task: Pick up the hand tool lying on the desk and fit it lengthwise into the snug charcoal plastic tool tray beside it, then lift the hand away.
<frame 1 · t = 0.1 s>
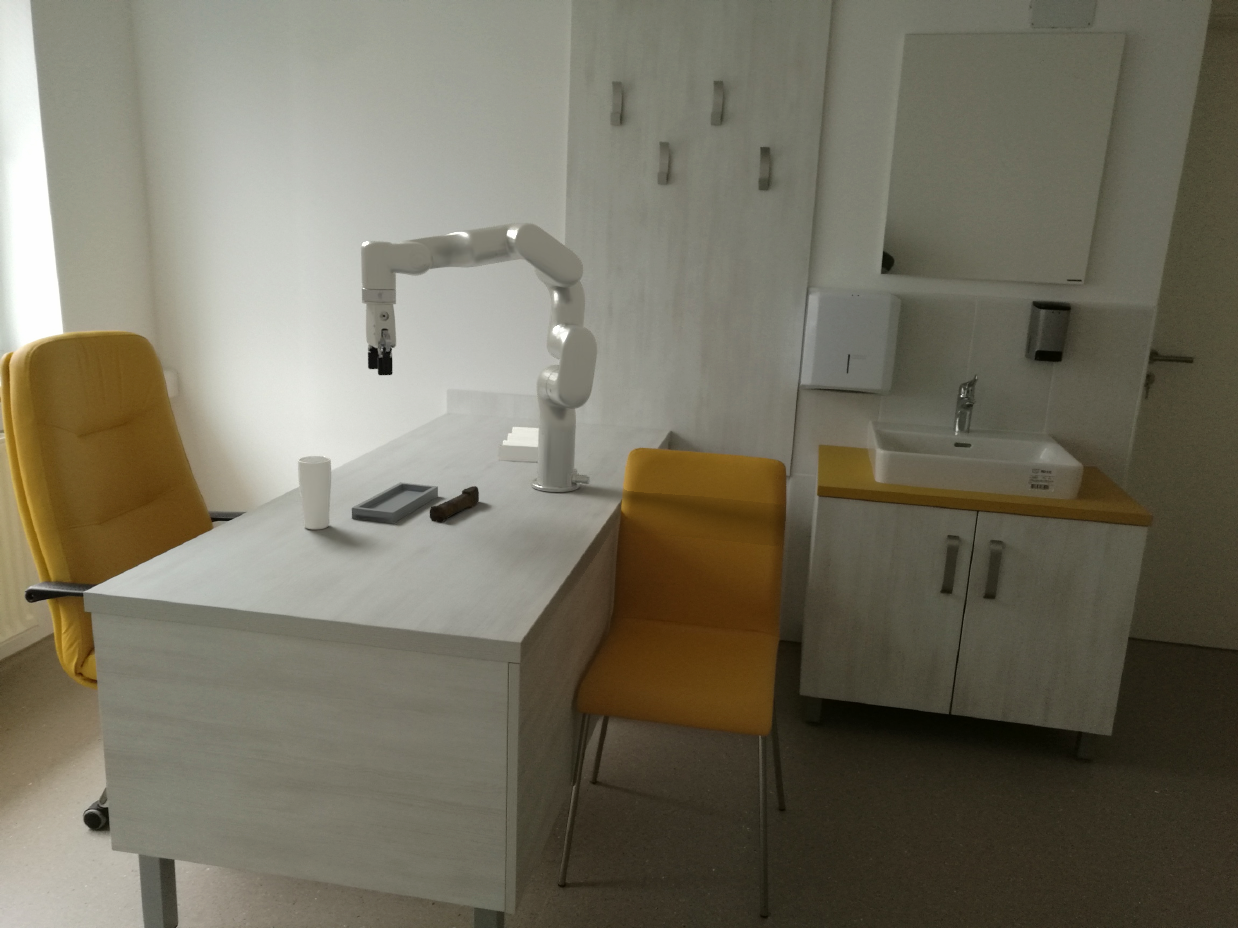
hand: (380, 371, 216), 31 cm above the table, tool pointing down, fingers open, 9 cm apart
white tumbler: (316, 527, 203), on the table
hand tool: (456, 513, 219), on the table
tool tray: (396, 506, 220), on the table
file organizer: (528, 451, 287), on the table
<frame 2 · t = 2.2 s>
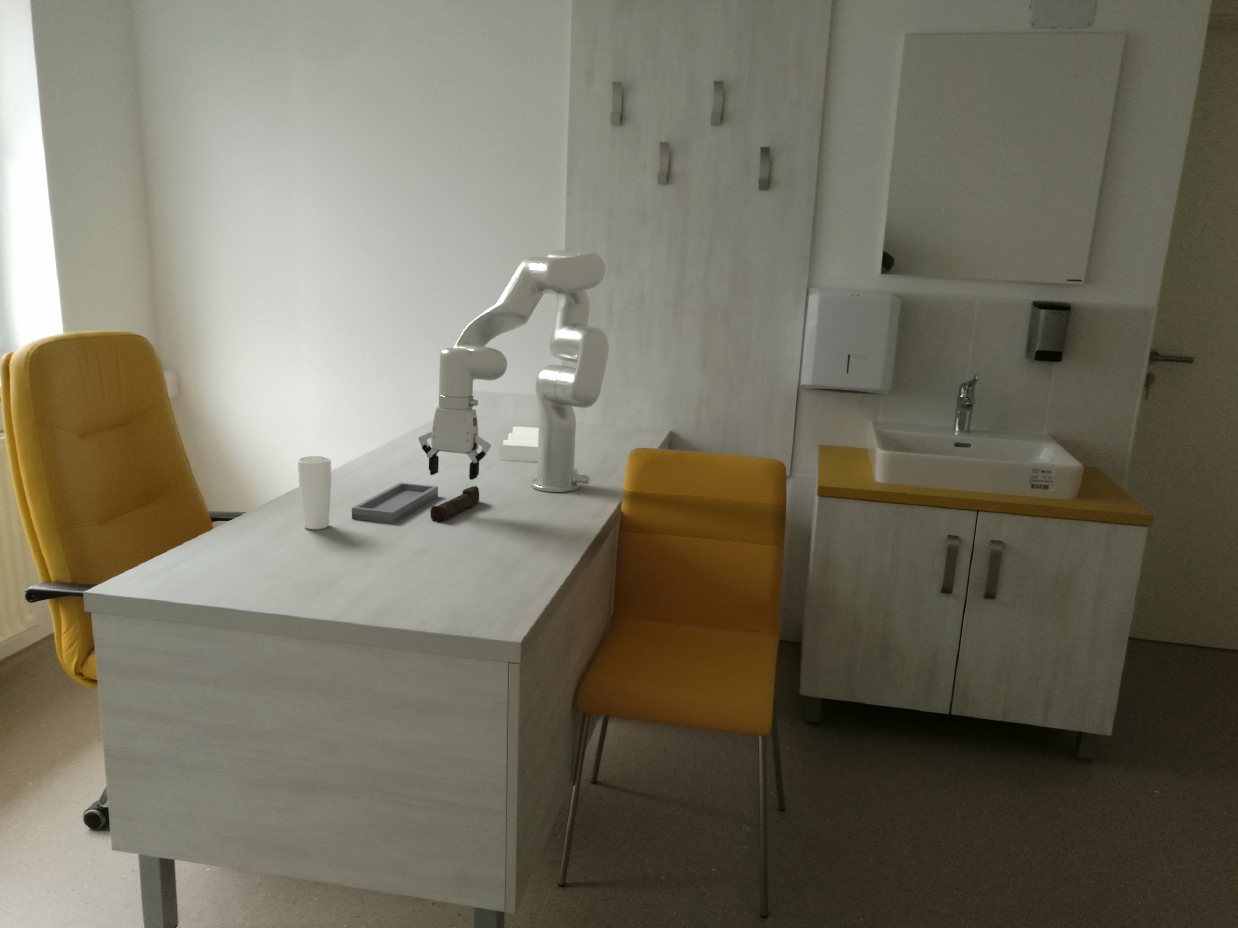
hand: (453, 476, 216), 9 cm above the table, tool pointing down, fingers open, 9 cm apart
nothing on the table moved.
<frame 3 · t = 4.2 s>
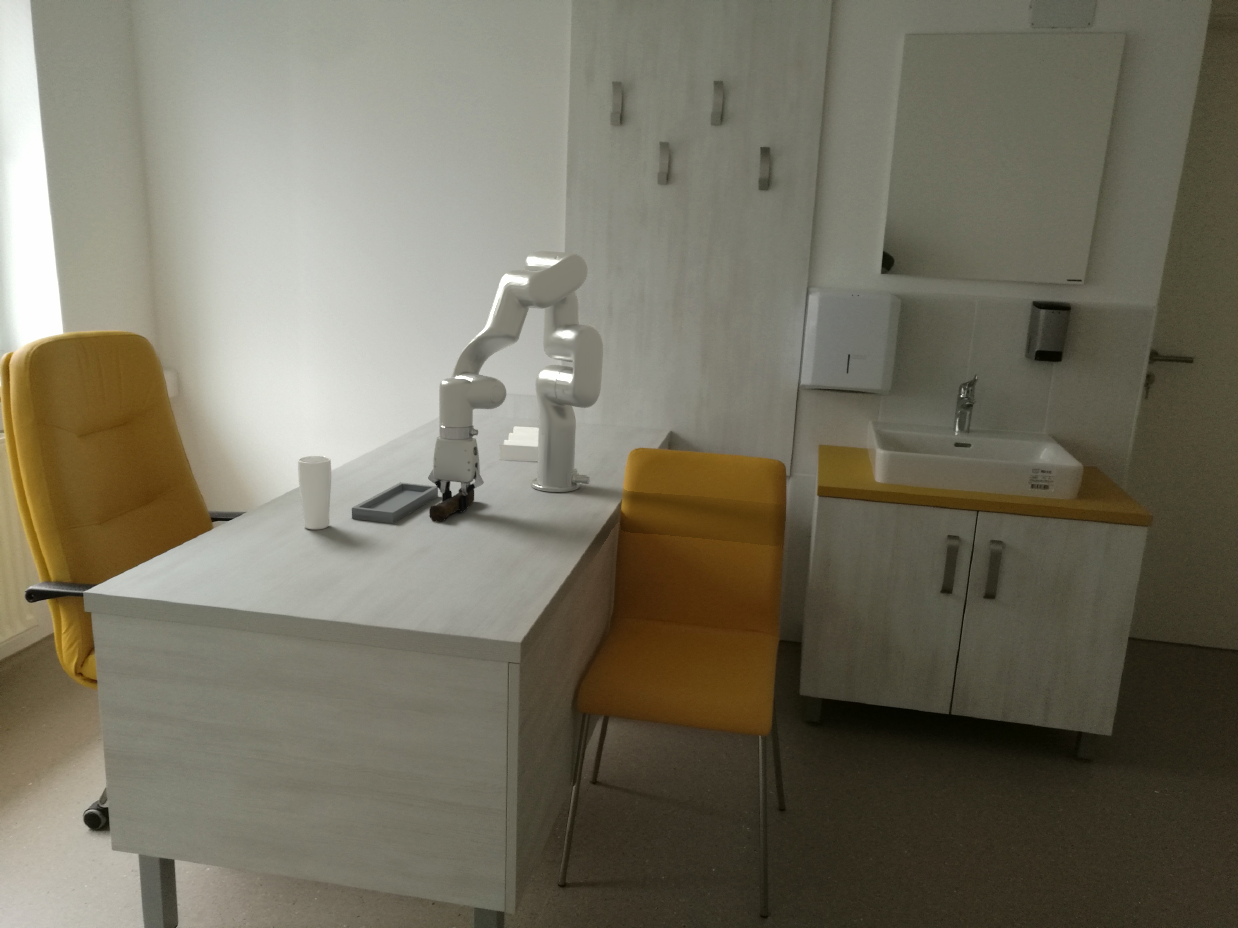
hand: (455, 508, 219), 1 cm above the table, tool pointing down, fingers closed on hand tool, 3 cm apart
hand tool: (453, 511, 219), on the table, touching gripper
everything else where it was.
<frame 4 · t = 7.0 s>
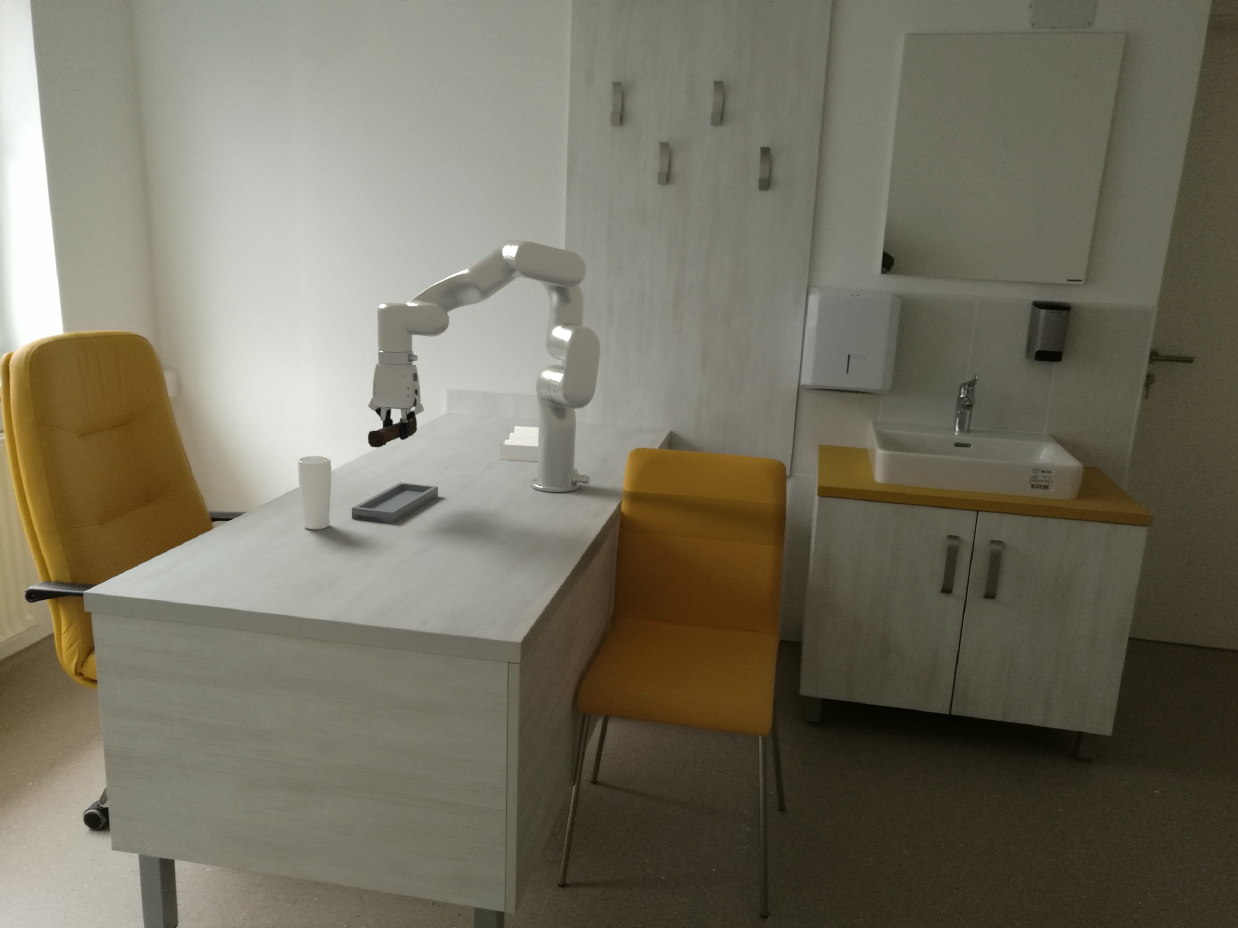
hand: (396, 437, 216), 17 cm above the table, tool pointing down, fingers closed on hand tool, 3 cm apart
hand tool: (394, 440, 216), point 16 cm above the table, touching gripper
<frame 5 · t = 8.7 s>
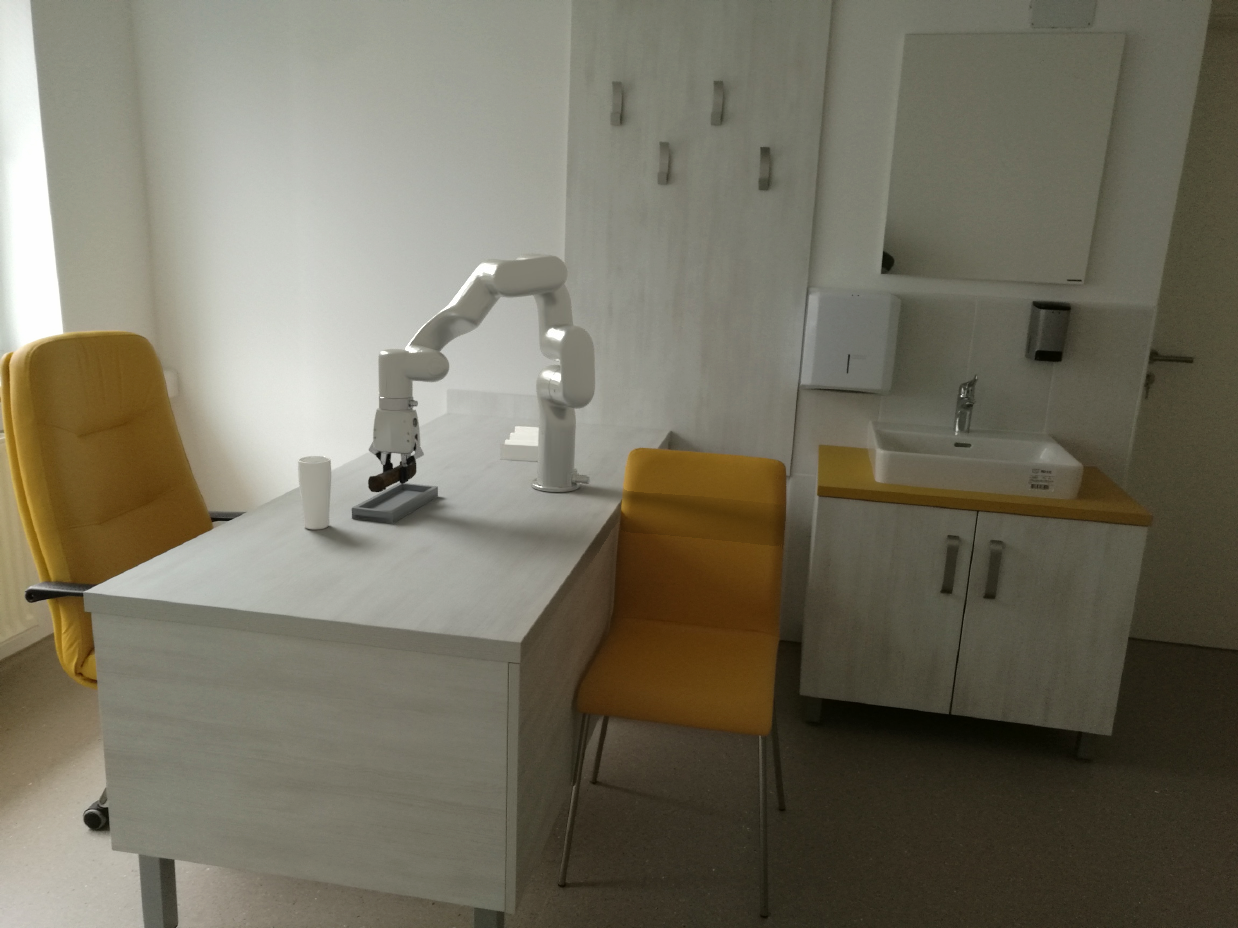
hand: (396, 480, 218), 6 cm above the table, tool pointing down, fingers closed on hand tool, 3 cm apart
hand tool: (394, 483, 218), point 6 cm above the table, touching gripper
when the fingers open (3 cm above the table, at t = 10.1 s): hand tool drops 1 cm, resting on tool tray.
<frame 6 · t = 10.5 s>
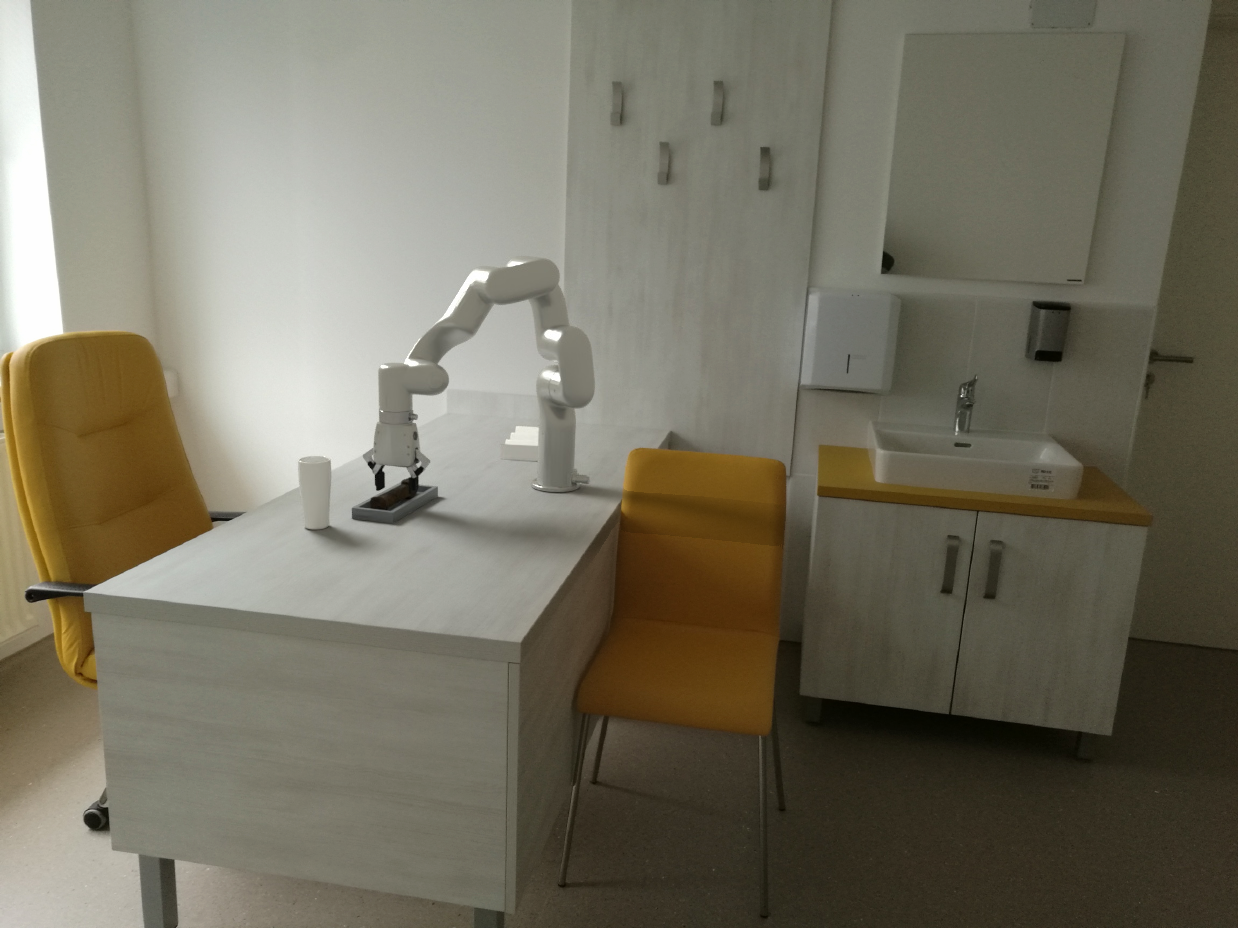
hand: (396, 490, 219), 4 cm above the table, tool pointing down, fingers open, 7 cm apart
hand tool: (395, 503, 220), point 1 cm above the table, touching tool tray
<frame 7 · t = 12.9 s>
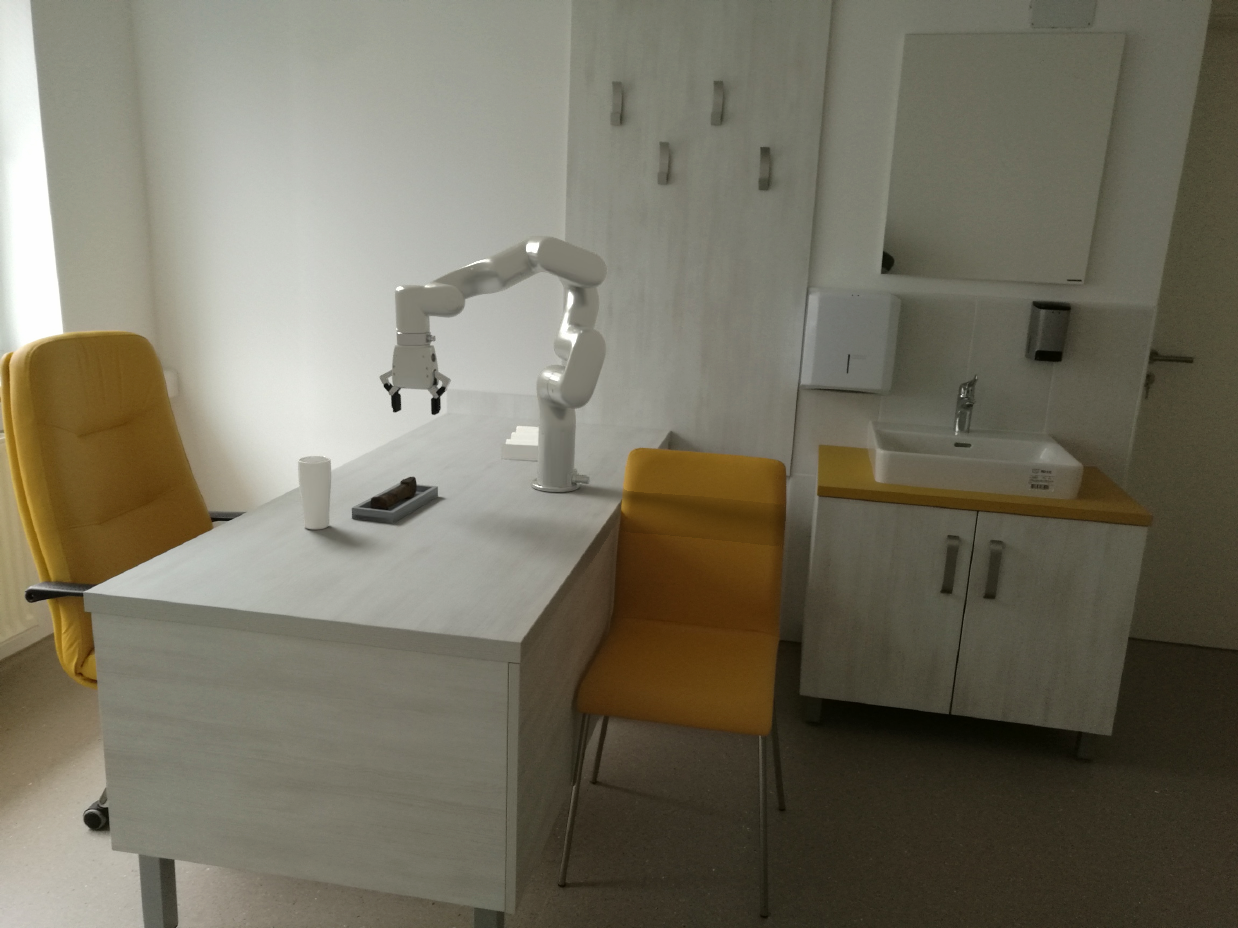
hand: (416, 412, 220), 22 cm above the table, tool pointing down, fingers open, 9 cm apart
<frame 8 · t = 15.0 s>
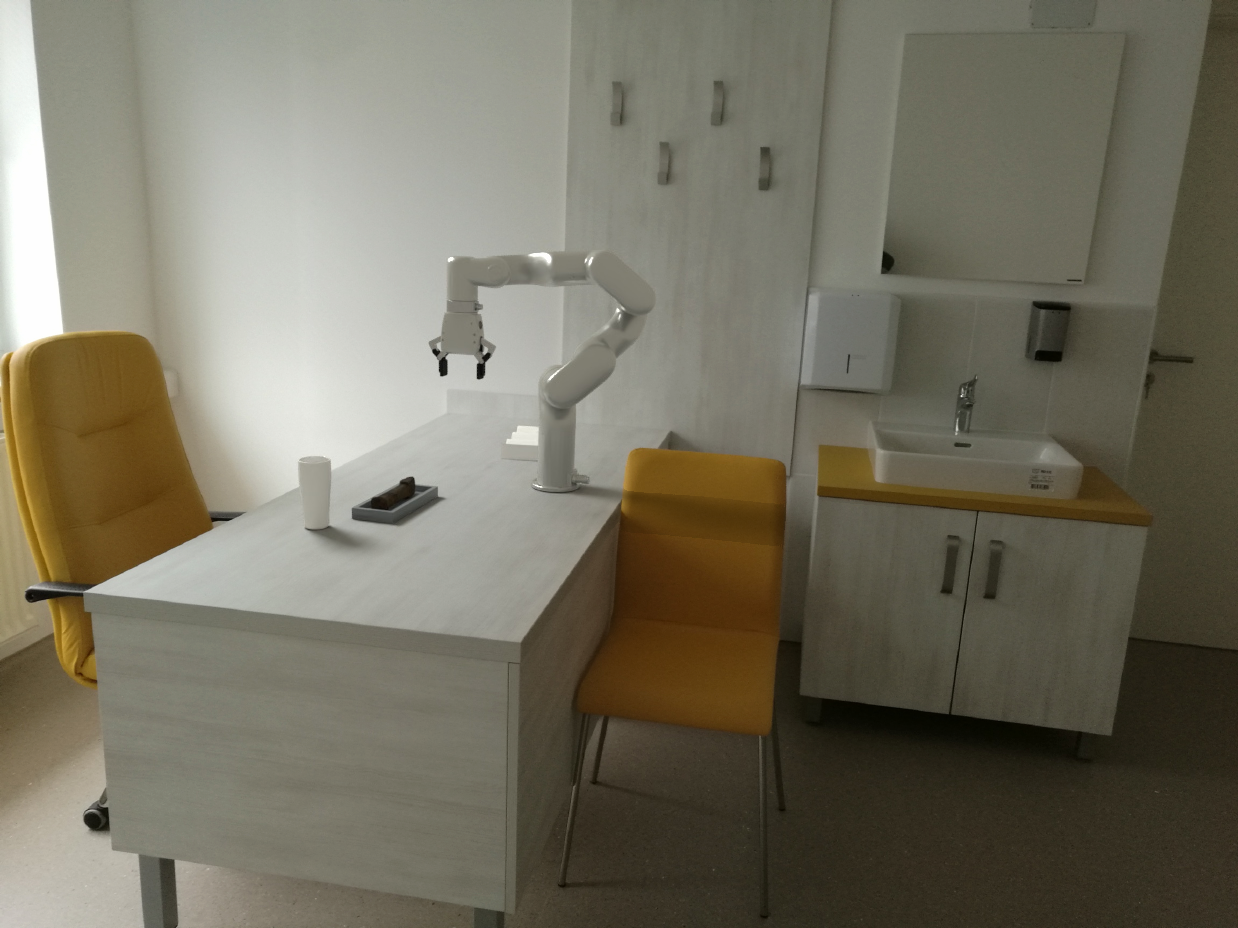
hand: (461, 377, 233), 28 cm above the table, tool pointing down, fingers open, 9 cm apart
at the end: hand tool 0.5 cm off-centre on the tool tray, point 0.8 cm above the tool tray's base; the gripper is holding nothing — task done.
